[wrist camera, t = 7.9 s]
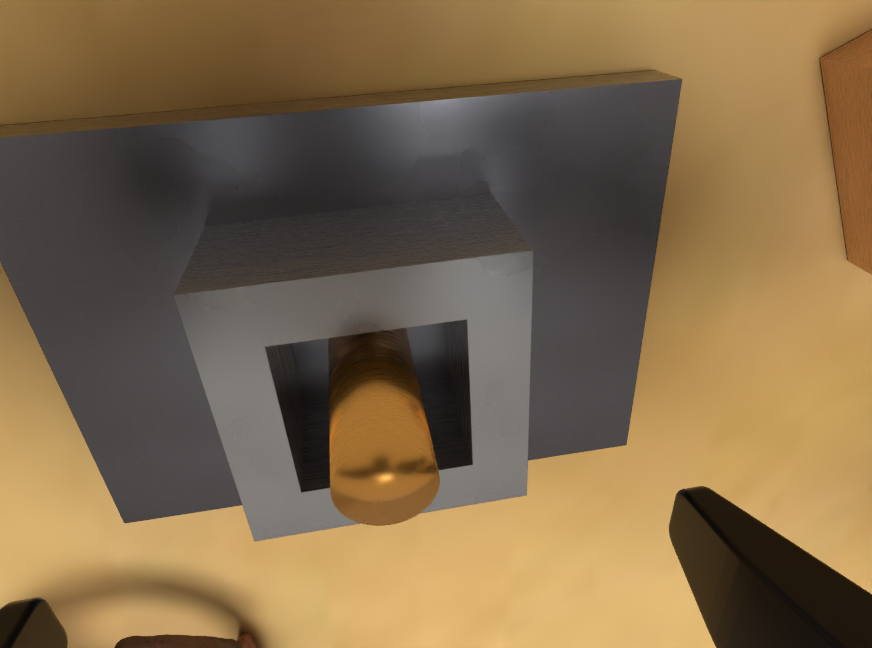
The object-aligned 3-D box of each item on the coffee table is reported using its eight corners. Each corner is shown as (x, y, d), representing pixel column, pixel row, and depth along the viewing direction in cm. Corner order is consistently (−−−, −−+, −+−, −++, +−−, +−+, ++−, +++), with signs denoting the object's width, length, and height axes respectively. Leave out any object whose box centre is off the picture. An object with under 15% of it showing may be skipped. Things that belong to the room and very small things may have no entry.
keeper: (654, 69, 13) (871, 139, 8) (609, 418, 18) (723, 599, 13) (-24, 127, 12) (-303, 260, 6) (136, 489, 17) (53, 725, 12)
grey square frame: (491, 193, 13) (533, 250, 10) (494, 410, 16) (527, 495, 13) (204, 226, 12) (173, 295, 10) (265, 445, 15) (254, 541, 13)
